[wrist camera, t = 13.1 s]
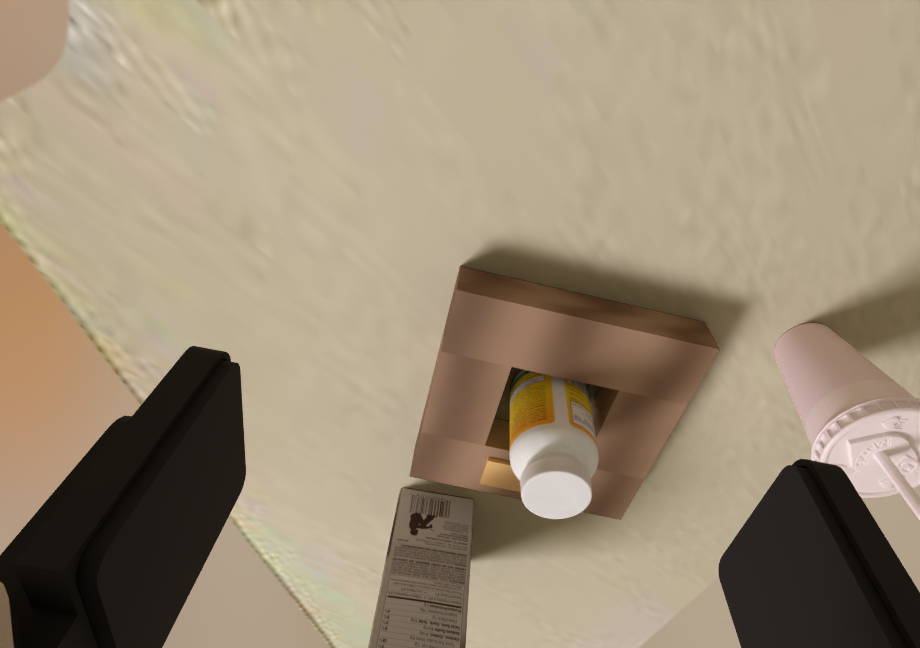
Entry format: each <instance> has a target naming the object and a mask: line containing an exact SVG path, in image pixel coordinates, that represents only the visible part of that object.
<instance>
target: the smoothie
mask: <svg viewBox="0 0 920 648" xmlns="http://www.w3.org/2000/svg"><path fill="white" fill-rule="evenodd" d="M774 356H775V359H776V362H777V364H778V366H779V369H780V371H781V373H782V376H783V378H784V381H785V383H786V385H787V388H788V390H789V392H790V395H791V397H792V400H793V402H794V404H795V407H796V409H797V412H798V414H799V416H800V419H801V421H802V423H803V426H804V428H805V431H806V433H807V436H808V438H809V441H810V443H811V445H812V453H811V459H812V461H817V462H822V463H828V464H833V465H837V466H839V467H841V468H842V469H843V471H844V472H845V473H846V474H847V476H848V478H849V479H850V481H851V482H852V484H853V486H854V487H855V489H856V491H857V492H858V494H859V495H860V497H863V498H866V497H867V498H868V497H869V498H870V497H883V496H890V495H894V494H897V493H900V494H901V495H902V496H903V498H904V499H905V501H906V502H907V503H908V505H909V506H910V507H911V509H912V510H913V512H914V513H915V514H916V516H917V517H918V518H919V520H920V498H919V496H918V495H917V494H916V492H915V491H914V490H913V488H915V487H916V486H919V485H920V399H918V398H915V397H914V396H912V395H911V394H910V393H909V392H908V391H907V390H905V389H904V388H903V387H901V386H900V385H899V384H898V383H896V382H895V381H894V380H893V379H891V378H890V377H889V376H888V375H887V374H885V373H884V372H883V371H882V370H880V369H879V368H878V367H877V366H875V365H874V364H873V363H872V362H871V361H869V360H868V359H867V358H866V357H864V356H863V355H862V354H861V353H859V352H858V351H857V350H856V349H855V348H853V347H852V346H851V345H850V344H848V343H847V342H846V341H845V340H843V339H842V338H841V337H840V336H838V335H837V334H836V333H835V332H834V331H832V330H831V329H830V328H829V327H827V326H825V325H822V324H818V323H807V324H802V325H799V326H796V327H794V328H792V329H790V330H788V331H787V332H786V333H784V334H783V335H782V336H781V337H780V339H779V340H778V341H777V343H776V345H775V348H774Z"/></svg>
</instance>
